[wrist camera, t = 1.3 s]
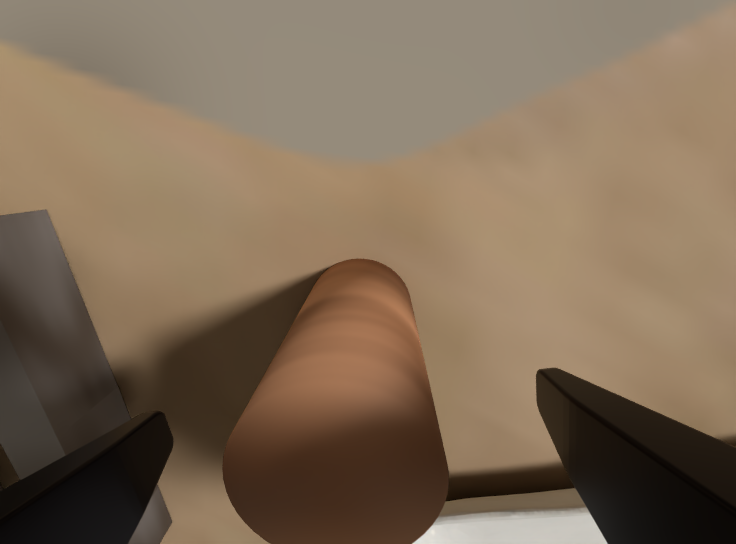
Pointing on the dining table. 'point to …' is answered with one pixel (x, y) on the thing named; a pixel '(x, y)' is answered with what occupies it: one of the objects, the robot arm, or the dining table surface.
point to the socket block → (53, 361)
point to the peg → (342, 422)
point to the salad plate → (515, 520)
